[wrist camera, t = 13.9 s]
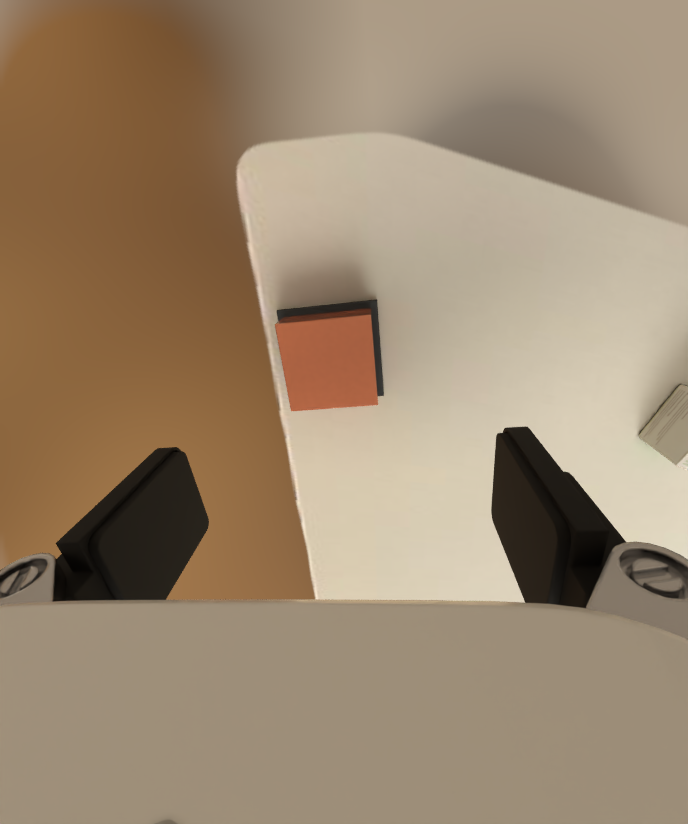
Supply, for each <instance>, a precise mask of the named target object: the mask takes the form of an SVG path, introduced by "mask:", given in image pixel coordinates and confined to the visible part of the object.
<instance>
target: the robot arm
mask: <svg viewBox="0 0 688 824" xmlns="http://www.w3.org/2000/svg"><path fill="white" fill-rule="evenodd" d="M492 519H493V523H494V525H495V528H496V530H497V533H498V535H499V538H500V540H501V543H502V545H503V548H504V550H505V553H506V555H507V558H508V560H509V563H510V565H511V568H512V570H513V573H514V575H515V578H516V580H517V583H518V585H519V588H520V590H521V593H522V595H523V598H524V600H525V603H519V602H497V601H443V600H166V598H167V596H168V595H169V593H170V591H171V590H172V588H173V586H174V585H175V583H176V581H177V580H178V578H179V576H180V575H181V573H182V571H183V570H184V568H185V566H186V565H187V563H188V561H189V559H190V558H191V556H192V555H193V553H194V551H195V549H196V548H197V546H198V544H199V543H200V541H201V539H202V538H203V536H204V534H205V533H206V531H207V529H208V524H209V521H208V516H207V513H206V511H205V508H204V505H203V502H202V499H201V496H200V493H199V491H198V487H197V485H196V482H195V479H194V476H193V473H192V471H191V468H190V465H189V462H188V459H187V456H186V454H185V453H184V452H182V451H181V450H180V449H179V448H177V447H172V448H158V449H156V450H155V451H154V452H153V453H152V454H151V455H149V456H148V457H147V458H146V459H145V460H144V461H143V462H142V463H141V464H140V465H139V466H138V467H137V468H136V469H135V470H134V471H132V472H131V473H130V474H129V475H128V476H127V477H126V478H125V479H124V480H123V481H122V482H121V483H120V484H119V485H118V486H116V487H115V488H114V489H113V490H112V491H111V492H110V493H109V494H108V495H107V496H106V497H105V498H104V499H103V500H102V501H100V502H99V503H98V504H97V505H96V506H95V507H94V508H93V509H92V510H91V511H90V512H89V513H88V514H87V515H85V516H84V517H83V518H82V519H81V520H80V521H79V522H78V523H77V524H76V525H75V526H74V527H73V528H72V529H70V530H69V531H68V532H67V533H66V534H65V535H64V536H63V537H62V538H61V539H60V540H59V541H58V542H57V543H56V544H57V546H58V548H59V550H60V551H61V553H62V554H61V555H60V556H59V557H58V558H57V559H55V557H54V556H53V555H51V554H50V553H39V554H33V555H30V556H27V557H24V558H21V559H19V560H17V561H15V562H13V563H11V564H9V565H8V566H6V567H5V568H3V569H1V570H0V824H688V560H687V559H686V558H684V557H683V556H681V555H680V554H677V553H675V552H673V551H671V550H669V549H666V548H664V547H660V546H657V545H653V544H650V543H642V542H626V541H625V540H624V539H623V538H622V536H621V535H620V534H619V533H618V531H617V530H616V529H615V528H614V526H613V525H612V524H611V523H610V522H609V520H608V519H607V518H606V517H605V515H604V514H603V513H602V512H601V510H600V509H599V508H598V507H597V506H596V504H595V503H594V502H593V501H592V499H591V498H590V497H589V496H588V494H587V493H586V492H585V491H584V490H583V488H582V487H581V486H580V485H579V483H578V482H577V481H576V480H575V478H574V477H573V476H572V475H571V474H570V473H568V472H563V471H562V470H561V468H560V467H559V466H558V465H557V463H556V462H555V461H554V459H553V458H552V457H551V456H550V454H549V453H548V452H547V451H546V449H545V448H544V447H543V445H542V444H541V443H540V442H539V440H538V439H537V438H536V437H535V435H534V434H533V433H532V431H531V430H530V429H529V428H528V427H512V428H505V429H504V431H503V433H498V434H497V436H496V449H495V464H494V479H493V494H492Z"/></svg>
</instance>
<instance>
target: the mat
mask: <svg viewBox="0 0 688 824" xmlns="http://www.w3.org/2000/svg"><path fill="white" fill-rule="evenodd" d="M368 308H371V313H372V326H373V338H374V351H375V364H376V377H377V389H378V396H384V392H383V378H382V364H381V350H380V336H379V322H378V308H377V300H369V301H360V302H350V303H341V304H331V305H322V306H312V307H303V308H293V309H284V310H277V316H278V321H280V320H281V319H282V318H283V317H290V316H300V315H310V314H319V313H329V312H339V311H349V310H358V309H368Z"/></svg>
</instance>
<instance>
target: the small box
mask: <svg viewBox="0 0 688 824" xmlns="http://www.w3.org/2000/svg"><path fill="white" fill-rule="evenodd" d="M639 438H640V439H641V440H643V441H644V442H645V443H647V444H648V445H649V446H651V447H652V448H653V449H655V450H656V451H658V452H659V453H660V454H661V455H663V456H664V457H666V458H667V459H668V460H670V461H671V462H672V463H673V464H675V465H676V466H678V467H680V468H683V469H686V470H688V386H685V385H679V386H678V387H677V389H676V390H675V391H674V392H673V393H672V395H671V396H670V397H669V398H668V399H667V401H666V402H665V403H664V404H663V406H662V407H661V408H660V409H659V411H658V412H657V413H656V414H655V416H654V417H653V418H652V419H651V420H650V422H649V423H648V424H647V425H646V427H645V428H644V429H643V430H642V432H641V433H640V434H639Z"/></svg>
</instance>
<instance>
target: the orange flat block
mask: <svg viewBox="0 0 688 824" xmlns="http://www.w3.org/2000/svg"><path fill="white" fill-rule="evenodd" d="M275 328H276V333H277V339H278V344H279V349H280V355H281V360H282V365H283V371H284V376H285V381H286V386H287V392H288V397H289V402H290V408H291V411H302V410H315V409H329V408H343V407H357V406H370V405H378V389H377V377H376V364H375V351H374V338H373V326H372V313H371V308H368V309H358V310H349V311H339V312H329V313H319V314H310V315H300V316H290V317H283V318H282V319H281V320H280V321H278V322H277V323H276V324H275Z"/></svg>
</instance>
